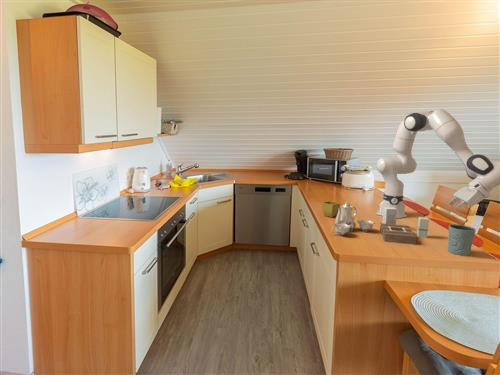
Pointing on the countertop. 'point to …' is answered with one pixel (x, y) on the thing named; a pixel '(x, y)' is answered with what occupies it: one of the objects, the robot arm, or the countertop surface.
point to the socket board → (397, 233)
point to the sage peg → (422, 227)
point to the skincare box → (389, 215)
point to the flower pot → (330, 208)
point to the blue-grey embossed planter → (460, 239)
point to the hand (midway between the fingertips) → (452, 206)
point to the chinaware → (349, 221)
